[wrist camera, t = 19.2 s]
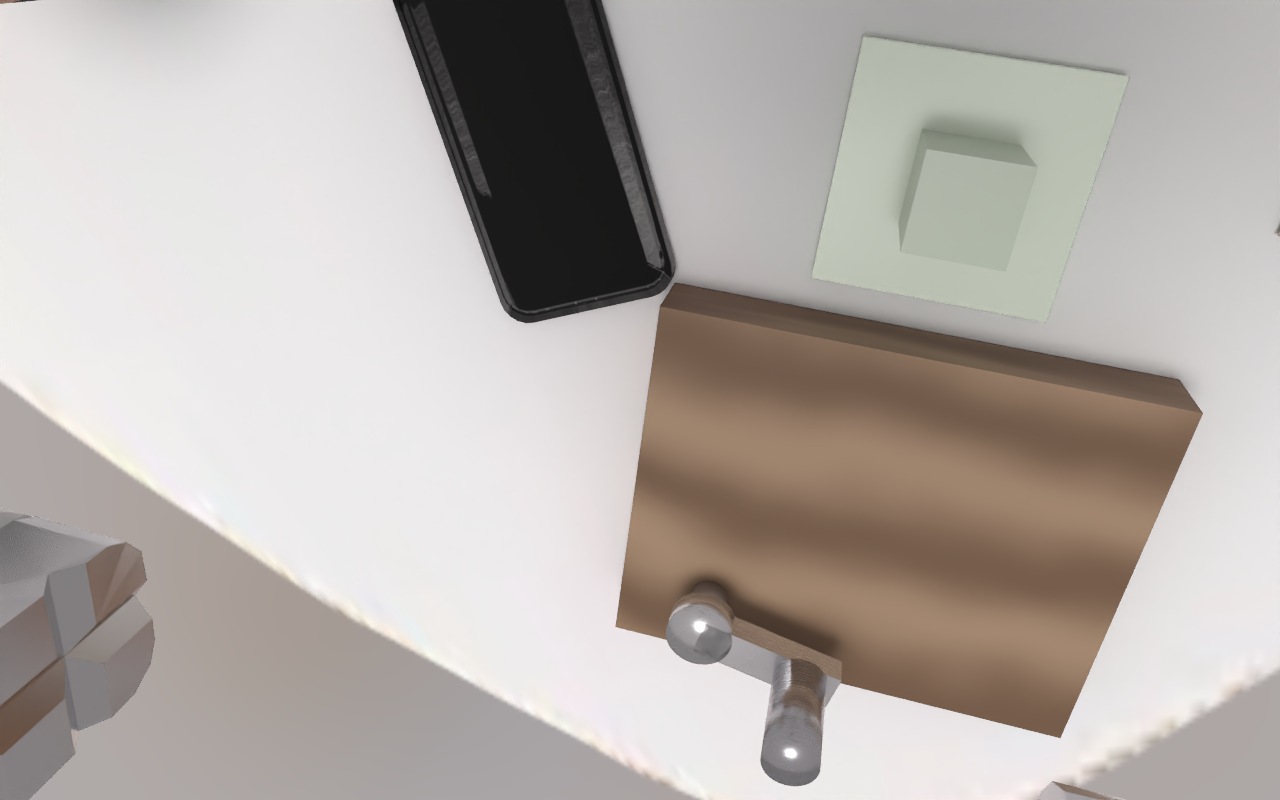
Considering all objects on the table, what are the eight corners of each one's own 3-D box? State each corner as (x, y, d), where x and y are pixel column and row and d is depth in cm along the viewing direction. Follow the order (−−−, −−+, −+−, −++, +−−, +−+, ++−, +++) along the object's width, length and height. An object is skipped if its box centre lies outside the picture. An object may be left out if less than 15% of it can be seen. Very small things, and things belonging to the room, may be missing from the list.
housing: (674, 282, 39) (652, 318, 36) (1179, 380, 37) (1215, 430, 33) (630, 588, 47) (608, 646, 43) (1049, 690, 44) (1065, 762, 40)
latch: (662, 630, 41) (632, 725, 36) (684, 582, 40) (655, 675, 35) (821, 697, 41) (812, 803, 36) (848, 651, 40) (843, 755, 34)
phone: (565, -104, 34) (678, 290, 39) (574, -103, 35) (683, 282, 40) (377, -35, 36) (507, 328, 41) (390, -35, 37) (515, 319, 42)
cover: (863, 34, 34) (861, 46, 30) (1121, 73, 33) (1160, 92, 28) (813, 269, 38) (804, 311, 34) (1041, 312, 37) (1064, 362, 33)
